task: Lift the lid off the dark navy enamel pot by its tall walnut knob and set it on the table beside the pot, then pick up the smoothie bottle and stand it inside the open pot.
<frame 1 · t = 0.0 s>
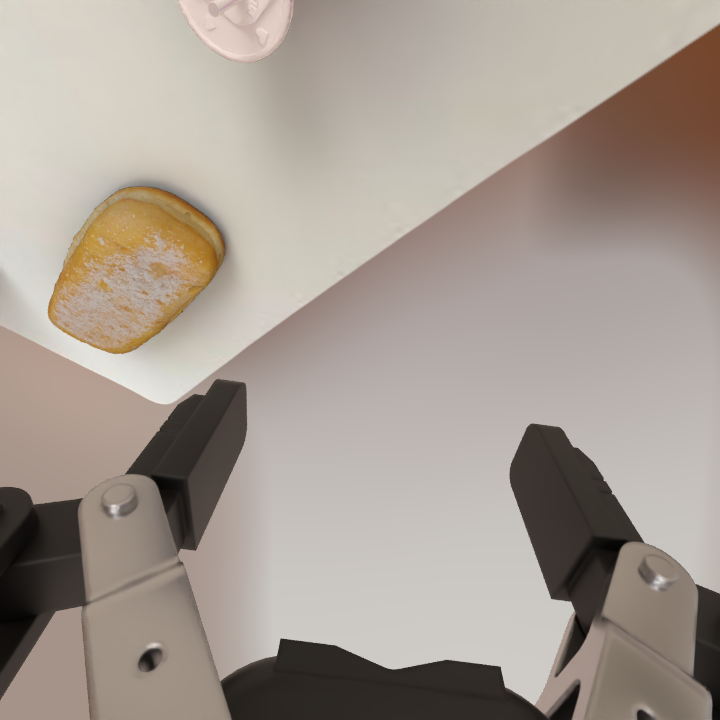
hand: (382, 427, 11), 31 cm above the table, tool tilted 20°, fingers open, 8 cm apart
bread: (143, 262, 49), on the table
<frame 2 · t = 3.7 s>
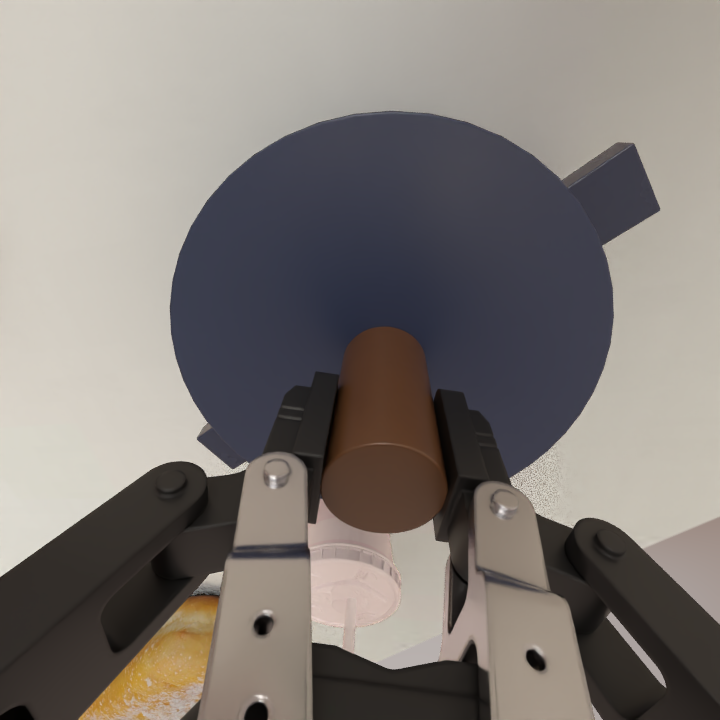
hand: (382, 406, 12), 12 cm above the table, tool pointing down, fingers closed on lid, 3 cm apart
bread: (182, 638, 44), on the table
lid: (384, 355, 15), point 9 cm above the table, touching gripper, pot
pot: (384, 281, 22), on the table
smoothie: (354, 462, 30), on the table
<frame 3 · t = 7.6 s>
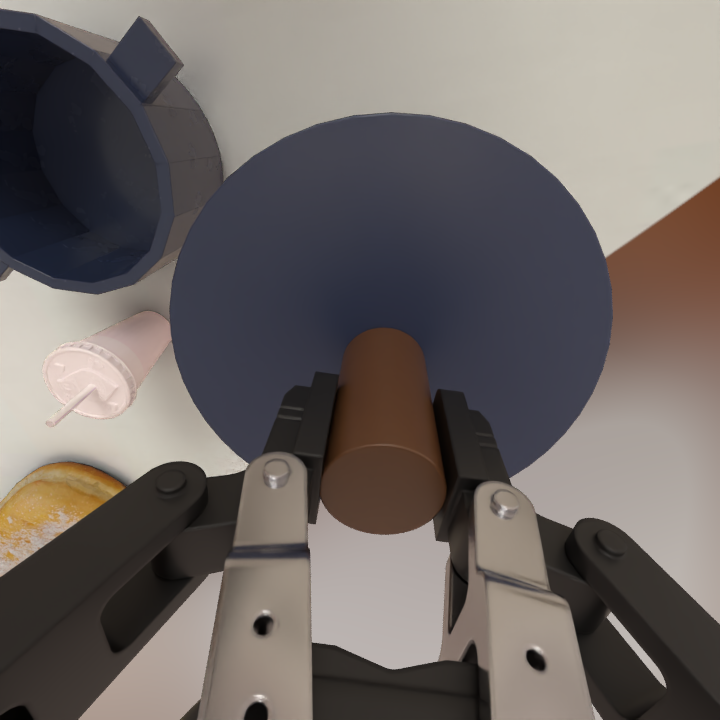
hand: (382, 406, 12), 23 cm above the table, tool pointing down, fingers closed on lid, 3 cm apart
bread: (66, 514, 52), on the table
lid: (383, 356, 15), point 20 cm above the table, touching gripper
pot: (127, 162, 30), on the table
smoothie: (154, 328, 38), on the table
when the fingers open (4 cm above the table, at t = 11.3 s): lid stays where it is, point 1 cm above the table.
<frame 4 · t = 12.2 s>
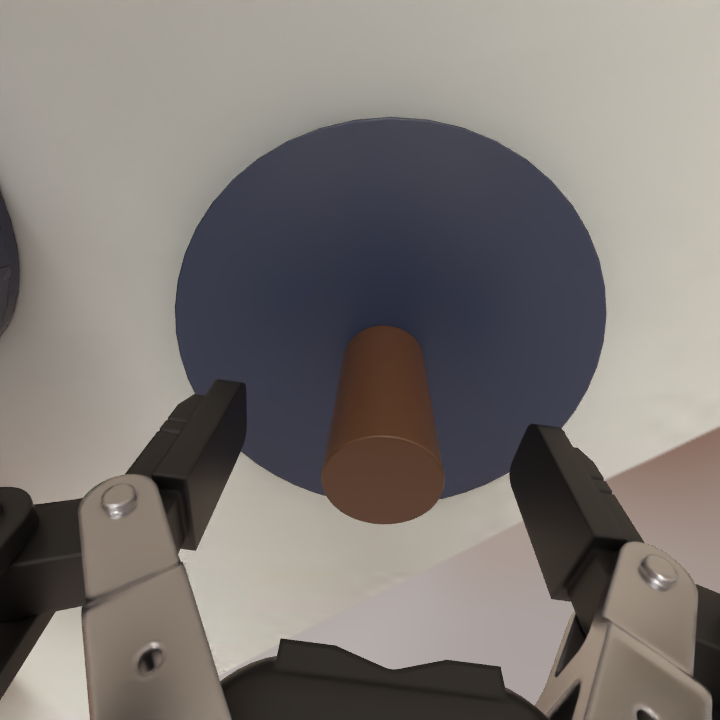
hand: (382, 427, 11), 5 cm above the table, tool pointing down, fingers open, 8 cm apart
lid: (383, 353, 15), point 1 cm above the table
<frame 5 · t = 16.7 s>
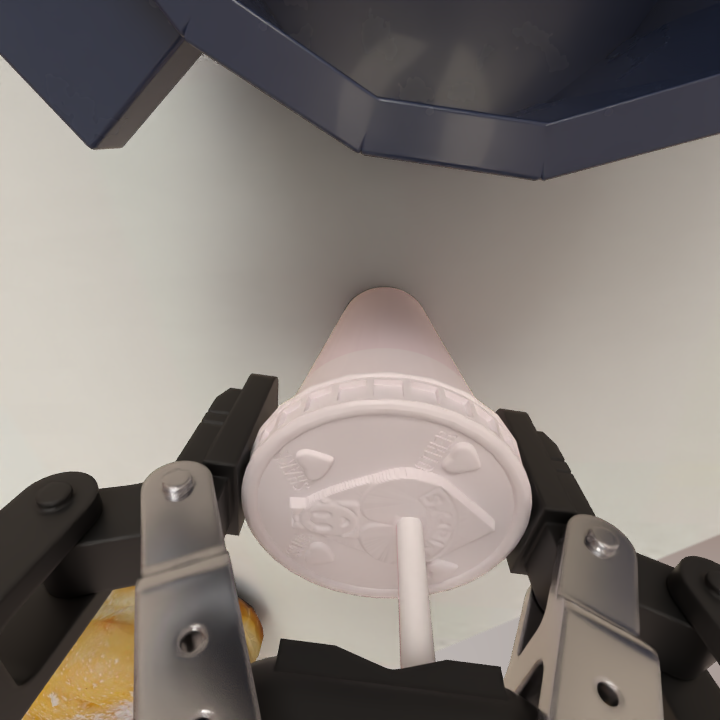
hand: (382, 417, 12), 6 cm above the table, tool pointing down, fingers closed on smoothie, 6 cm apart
bread: (132, 633, 32), on the table
smoothie: (383, 326, 17), on the table, touching gripper
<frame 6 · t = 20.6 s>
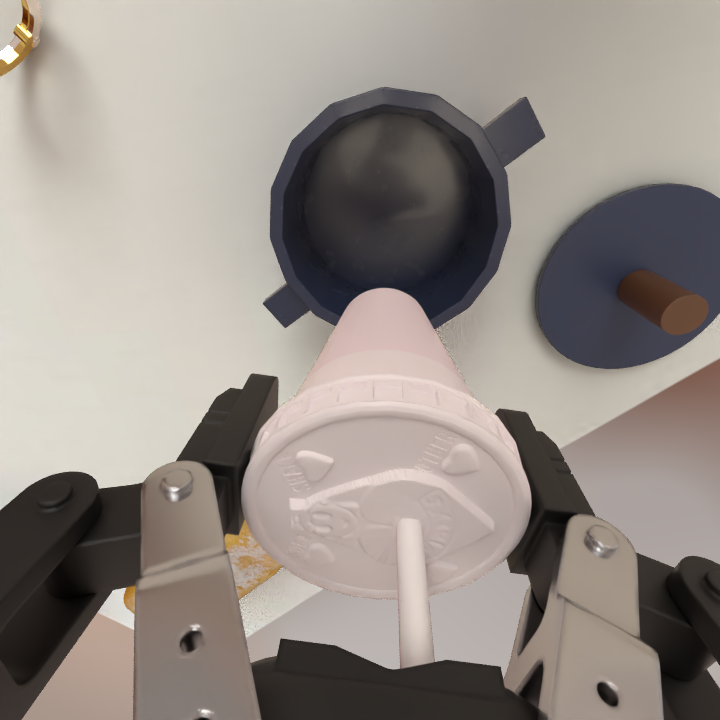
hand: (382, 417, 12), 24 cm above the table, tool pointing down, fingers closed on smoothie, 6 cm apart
bread: (218, 535, 53), on the table
lid: (632, 285, 33), point 1 cm above the table
pot: (386, 210, 32), on the table
ring: (35, 38, 28), on the table
smoothie: (383, 327, 17), point 18 cm above the table, touching gripper
when the fingers open (7 cm above the table, at t = 24.6 s): smoothie stays where it is, resting on pot.
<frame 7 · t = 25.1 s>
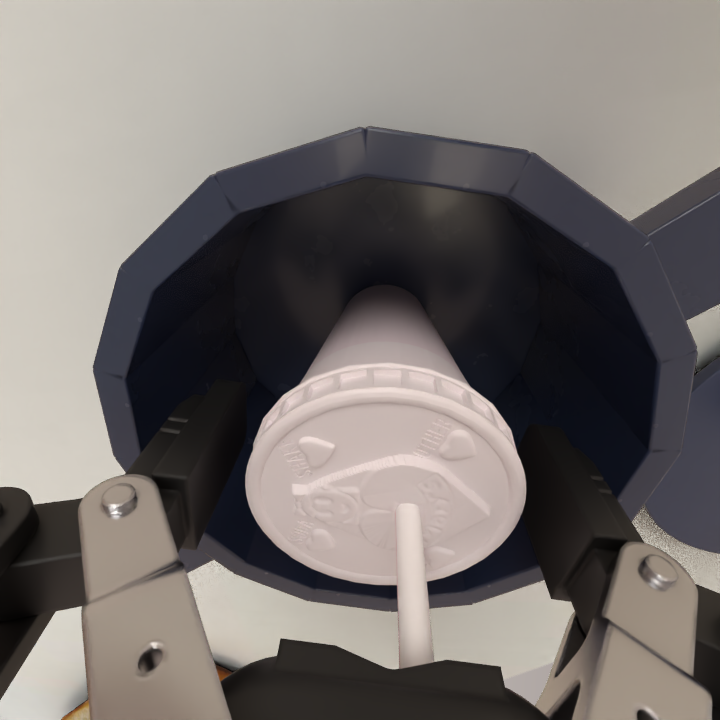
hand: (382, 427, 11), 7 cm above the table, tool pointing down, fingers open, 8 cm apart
bread: (158, 698, 39), on the table
pot: (383, 321, 18), on the table
smoothie: (383, 323, 17), resting on pot
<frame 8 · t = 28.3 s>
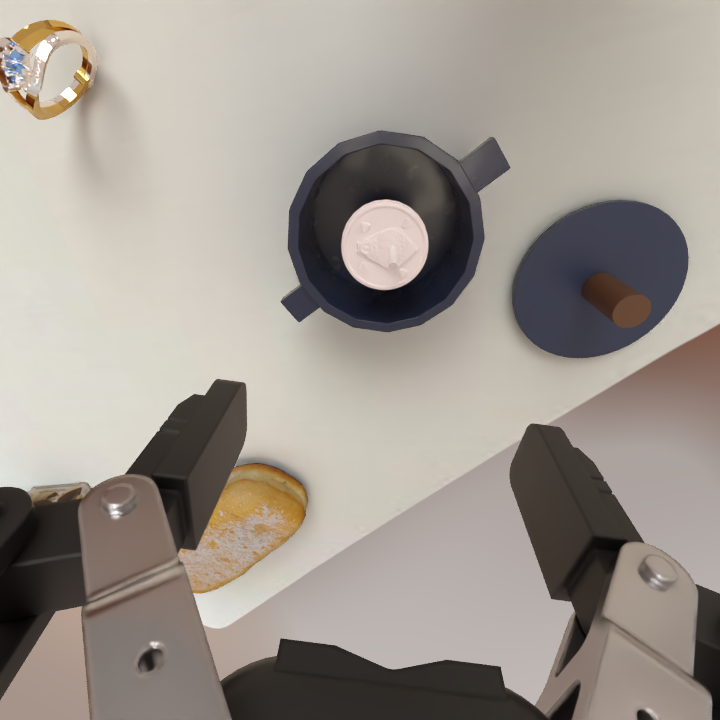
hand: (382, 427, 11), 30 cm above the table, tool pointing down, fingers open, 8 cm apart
bread: (234, 509, 59), on the table
lid: (595, 285, 39), point 1 cm above the table
pot: (384, 221, 37), on the table
ring: (90, 80, 33), on the table
coffee box: (70, 497, 60), on the table
smoothie: (384, 222, 37), resting on pot
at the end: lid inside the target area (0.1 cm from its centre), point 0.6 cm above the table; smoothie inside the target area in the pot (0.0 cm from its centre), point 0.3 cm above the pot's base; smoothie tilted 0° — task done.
